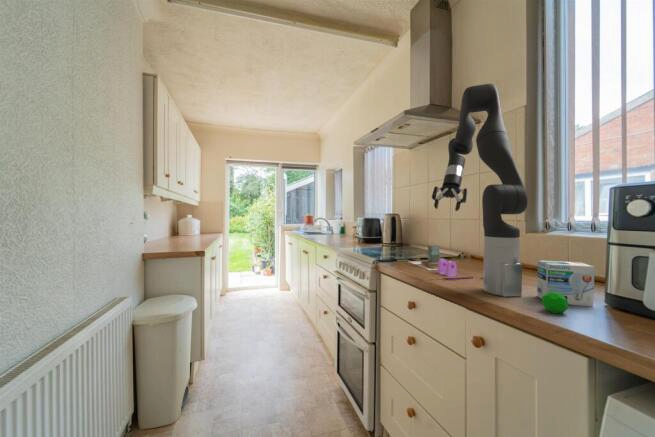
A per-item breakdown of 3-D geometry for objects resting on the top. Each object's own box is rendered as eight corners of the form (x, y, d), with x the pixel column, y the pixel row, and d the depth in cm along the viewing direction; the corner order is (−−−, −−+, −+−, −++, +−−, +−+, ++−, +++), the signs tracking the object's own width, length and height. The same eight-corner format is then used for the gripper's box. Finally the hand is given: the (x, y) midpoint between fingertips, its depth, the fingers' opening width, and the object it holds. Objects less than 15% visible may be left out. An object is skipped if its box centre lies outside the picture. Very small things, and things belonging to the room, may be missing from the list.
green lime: (569, 312, 67) (569, 293, 67) (566, 317, 64) (567, 297, 64) (543, 307, 71) (543, 289, 71) (539, 311, 67) (540, 292, 67)
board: (453, 272, 112) (453, 269, 112) (428, 273, 110) (428, 269, 110) (428, 263, 132) (428, 260, 132) (406, 264, 130) (406, 261, 130)
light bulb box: (546, 303, 74) (547, 263, 74) (535, 296, 81) (536, 259, 80) (595, 307, 71) (596, 266, 71) (579, 299, 77) (580, 261, 77)
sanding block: (446, 268, 113) (446, 247, 112) (433, 269, 112) (433, 247, 112) (433, 264, 123) (433, 244, 122) (421, 264, 122) (421, 244, 121)
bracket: (448, 280, 99) (448, 261, 99) (437, 277, 104) (437, 259, 104) (476, 278, 103) (476, 260, 103) (464, 275, 108) (464, 257, 108)
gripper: (435, 172, 127) (428, 204, 123) (469, 173, 119) (462, 207, 115) (438, 180, 133) (431, 210, 129) (471, 181, 125) (464, 214, 121)
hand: (446, 209), depth 122 cm, fingers open, 8 cm apart
